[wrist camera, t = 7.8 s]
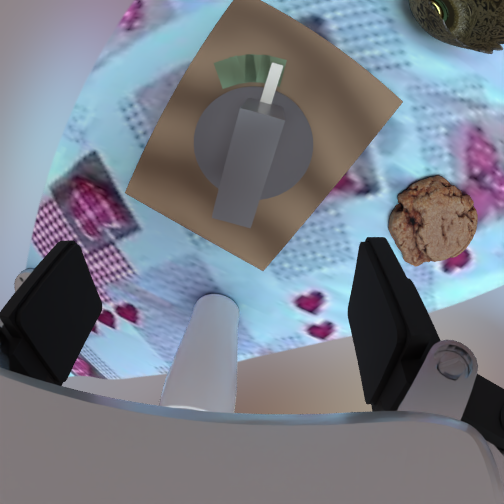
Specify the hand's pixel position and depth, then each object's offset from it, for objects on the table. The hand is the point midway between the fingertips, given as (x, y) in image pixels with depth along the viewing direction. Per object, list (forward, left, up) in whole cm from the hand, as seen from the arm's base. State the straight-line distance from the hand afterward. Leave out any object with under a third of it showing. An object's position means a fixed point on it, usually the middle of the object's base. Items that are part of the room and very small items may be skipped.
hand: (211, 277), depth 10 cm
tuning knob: (+1, 0, -16) cm, 16 cm away
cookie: (+4, -19, -19) cm, 27 cm away
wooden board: (0, 0, -19) cm, 19 cm away
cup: (+19, -5, -19) cm, 27 cm away
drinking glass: (-19, -7, -19) cm, 27 cm away
